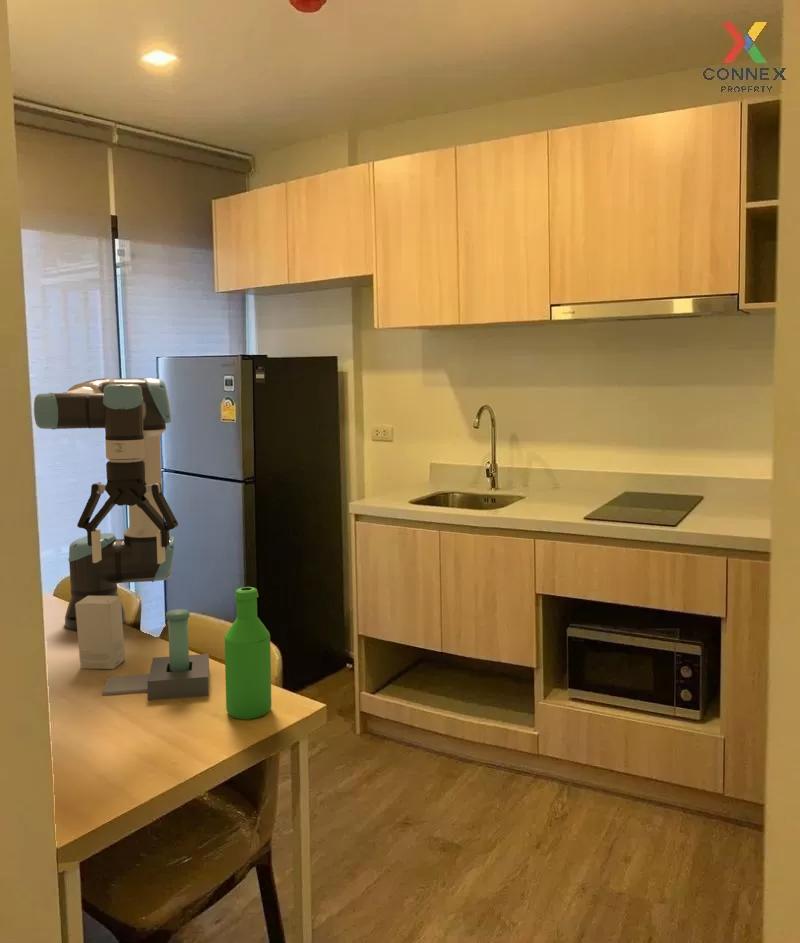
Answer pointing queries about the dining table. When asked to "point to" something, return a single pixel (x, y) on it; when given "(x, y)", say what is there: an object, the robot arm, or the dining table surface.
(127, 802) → the dining table surface
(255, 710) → the bottle
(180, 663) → the plug
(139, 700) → the dining table surface
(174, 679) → the socket block
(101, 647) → the skincare box
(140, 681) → the coaster
